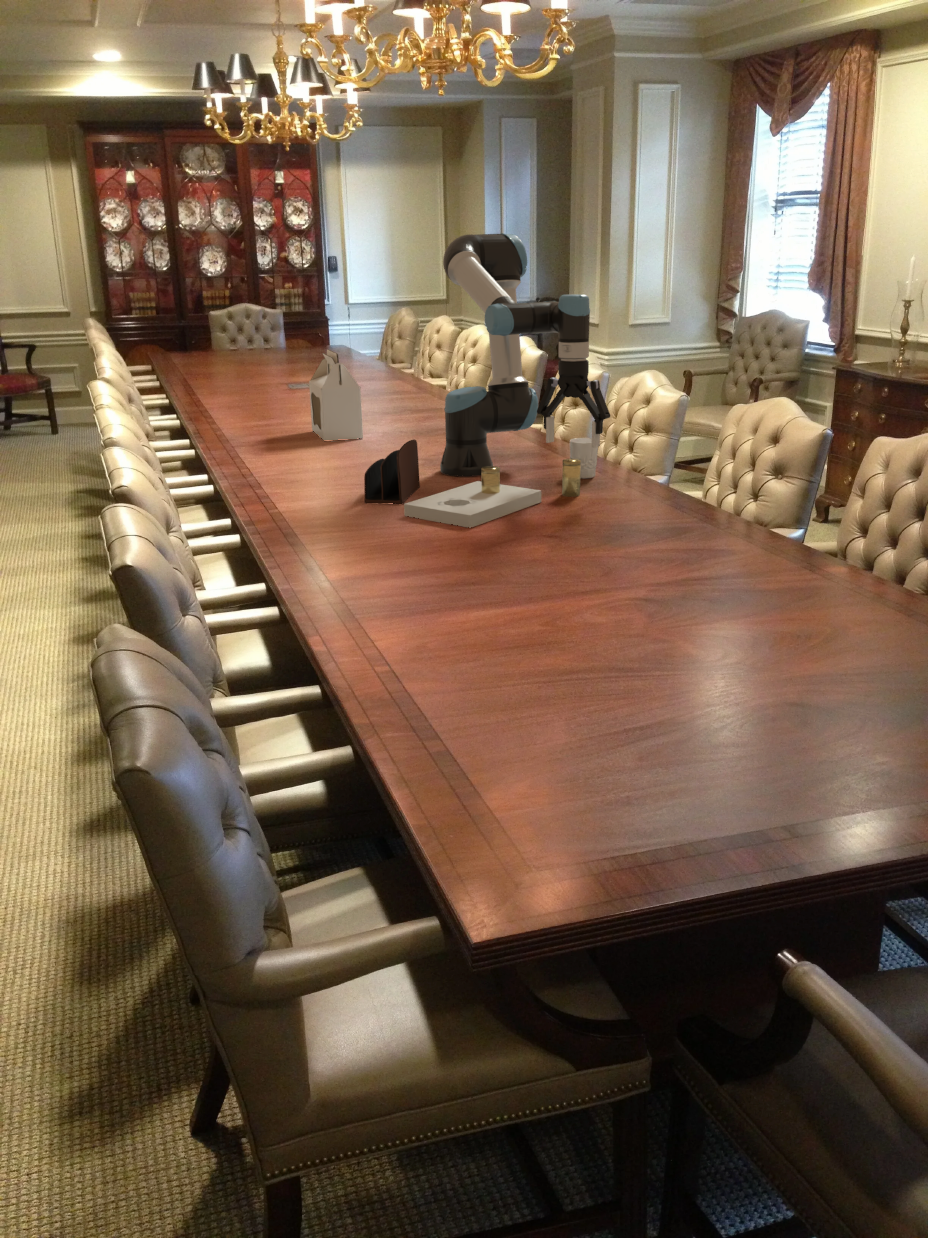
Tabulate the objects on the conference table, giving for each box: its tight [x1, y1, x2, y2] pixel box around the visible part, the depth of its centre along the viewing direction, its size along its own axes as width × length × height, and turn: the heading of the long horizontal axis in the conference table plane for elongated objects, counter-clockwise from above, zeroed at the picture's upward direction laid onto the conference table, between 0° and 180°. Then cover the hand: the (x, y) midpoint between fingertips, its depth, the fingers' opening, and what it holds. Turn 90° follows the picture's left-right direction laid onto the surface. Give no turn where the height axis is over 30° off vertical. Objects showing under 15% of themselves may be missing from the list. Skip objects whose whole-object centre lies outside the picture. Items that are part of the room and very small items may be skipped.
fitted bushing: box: [480, 465, 501, 494], centre depth 267 cm, size 5×5×9 cm
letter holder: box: [363, 439, 421, 505], centre depth 276 cm, size 10×20×14 cm, turn 169°
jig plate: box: [403, 480, 542, 529], centre depth 262 cm, size 20×30×3 cm, turn 143°
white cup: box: [569, 437, 599, 479], centre depth 294 cm, size 8×8×10 cm
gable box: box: [308, 349, 364, 441], centre depth 358 cm, size 22×13×28 cm, turn 18°
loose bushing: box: [561, 458, 581, 498], centre depth 274 cm, size 5×5×9 cm
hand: (572, 444), depth 271 cm, fingers open, 13 cm apart
